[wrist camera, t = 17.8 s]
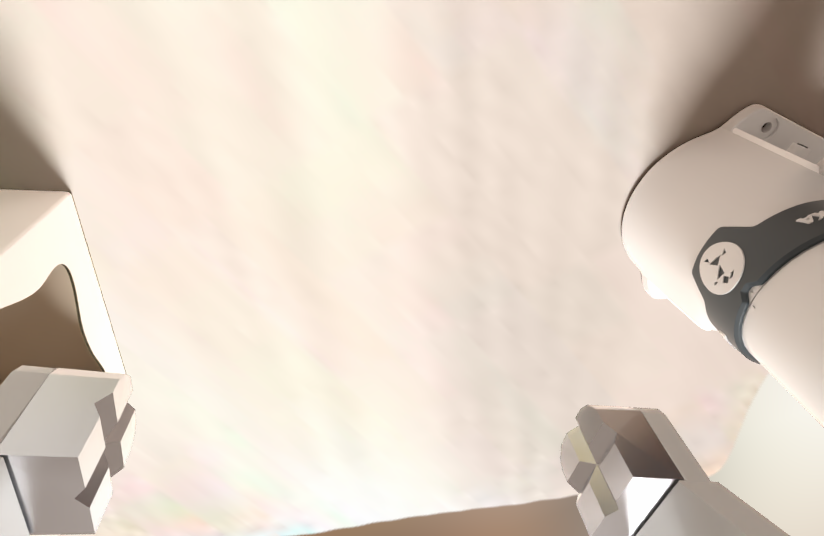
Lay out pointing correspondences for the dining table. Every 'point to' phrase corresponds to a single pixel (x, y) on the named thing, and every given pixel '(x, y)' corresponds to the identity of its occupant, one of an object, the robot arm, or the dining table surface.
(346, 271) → the dining table surface
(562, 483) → the dining table surface
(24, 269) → the gable box
